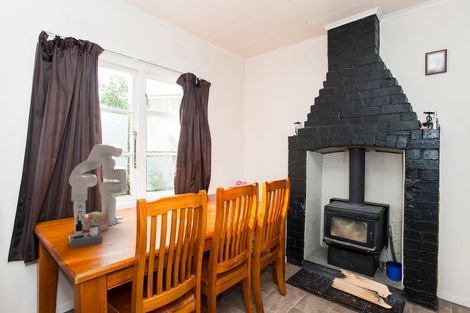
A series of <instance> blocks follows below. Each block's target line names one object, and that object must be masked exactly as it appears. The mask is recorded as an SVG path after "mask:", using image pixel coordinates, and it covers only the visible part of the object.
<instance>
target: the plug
mask: <svg viewBox="0 0 470 313" xmlns="http://www.w3.org/2000/svg"><path fill="white" fill-rule="evenodd" d="M78 218H79V217H78ZM78 218H77V219H78ZM73 219H74V224H73V225H74V227H73V230H74V231H73V232H74V233H73V235H74V236H80V235H82V234H83V232H84V231H83V230H84V229H83V227H82V231H78V232H76V219H75V217H73ZM82 224H83V216H82Z"/></svg>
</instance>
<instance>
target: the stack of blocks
mask: <svg viewBox="0 0 470 313" xmlns="http://www.w3.org/2000/svg"><path fill="white" fill-rule="evenodd" d="M85 216H86V217H85V218H83V230H84V231H89V232H90V224H94V223H97V224H98V232H100V233H101V232H105V231H108V230H109V225H108V224H109V214H107V213H103V212H102V211H101V212H100V211H92V212H89V213H85Z"/></svg>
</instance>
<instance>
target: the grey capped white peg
mask: <svg viewBox="0 0 470 313" xmlns="http://www.w3.org/2000/svg"><path fill="white" fill-rule="evenodd" d="M98 232H99V231H98V224H97V223H94V224H90V231H89V233H90V237H92V236H98Z"/></svg>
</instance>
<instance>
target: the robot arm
mask: <svg viewBox="0 0 470 313" xmlns="http://www.w3.org/2000/svg"><path fill="white" fill-rule="evenodd" d="M122 147H123V146H121V145H120V144H109V143H108V144H105V143H98V144H95V145H94V146H92V148H91V151H90V153H89V155H88V157H87V159H85V160H84V161H82V162H80V163H79V164H77V165H76V166H75V167H73V170H72V172H71V173H70V176H69V178H68V183H69V185H70V186H71V199H70V201H71V202H73V216H74V217H75V219H76V232H78V231H82V227H83V224H82V216H83V218H85V217H86V216H85V215H86V201H88V188H92V187H94V186H96V185H97V183H98V181H99V180H98V176H96V174H93V173H86V172H89V171H92V170H95V169H98V168H100V167H101V166H102V177H103V179H105V180H106V181H103V182H102V183H101V185H100V193H101V212H103V213H107V214H109V224H108V226H112V225H116V224H118V223H119V221H121V220H123V216H117V198H116V196H115V195H123V194H125V193H126V192H127V186H128V185H127V184H128V182H127V180H128V179H127V170H126V168H125V167H122V166H116V158H119V157H121V156H122V154H123V148H122ZM74 217H73V218H74ZM78 217H79V218H78ZM77 218H78V219H77ZM75 219H74V220H75Z"/></svg>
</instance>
